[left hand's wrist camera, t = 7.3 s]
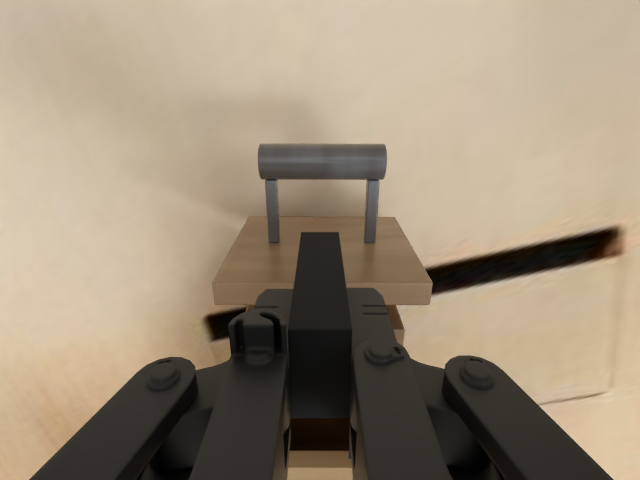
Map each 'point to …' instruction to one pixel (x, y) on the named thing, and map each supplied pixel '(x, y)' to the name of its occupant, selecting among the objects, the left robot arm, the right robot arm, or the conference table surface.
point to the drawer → (356, 246)
